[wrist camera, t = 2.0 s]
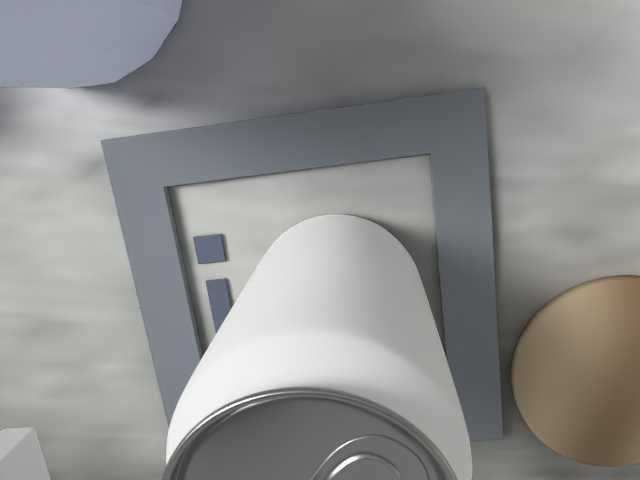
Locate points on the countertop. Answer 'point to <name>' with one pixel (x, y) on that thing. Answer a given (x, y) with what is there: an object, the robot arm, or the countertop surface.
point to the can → (324, 370)
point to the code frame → (303, 153)
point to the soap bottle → (79, 40)
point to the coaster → (584, 372)
